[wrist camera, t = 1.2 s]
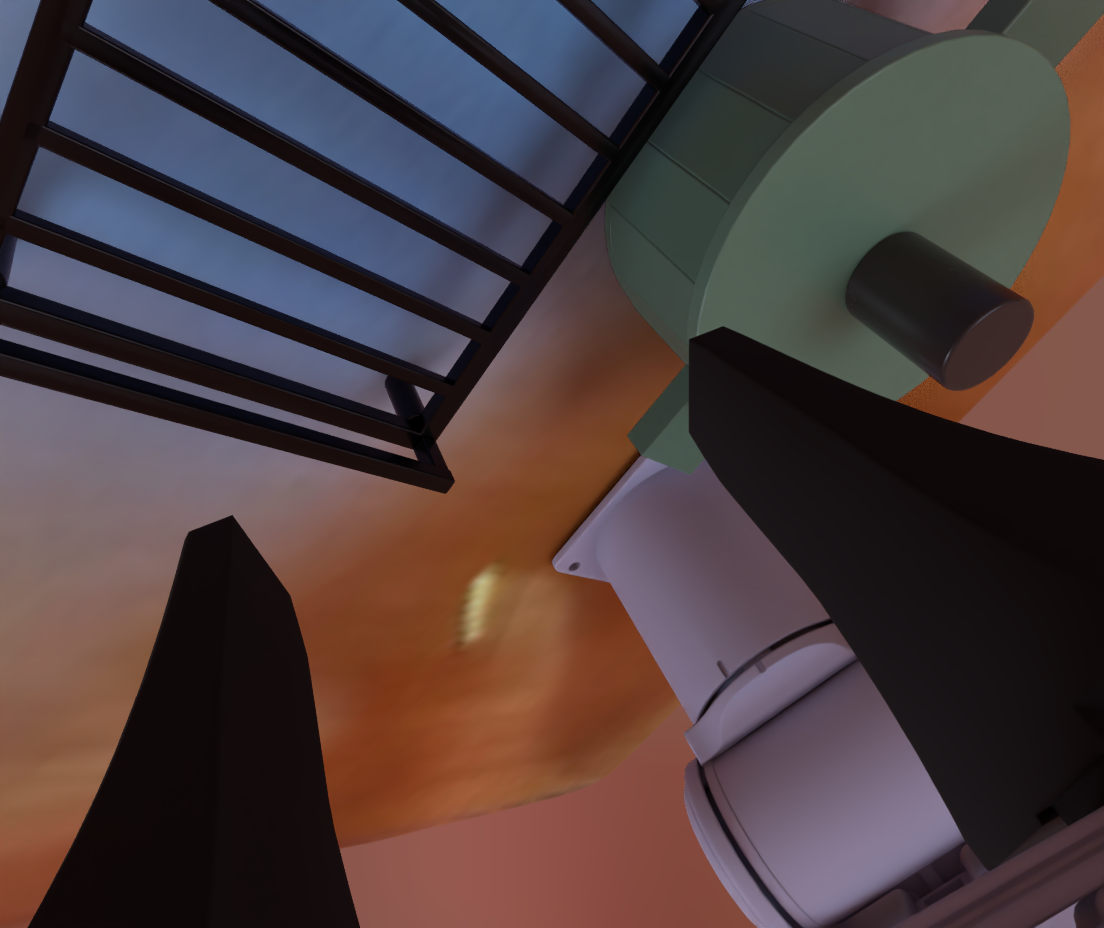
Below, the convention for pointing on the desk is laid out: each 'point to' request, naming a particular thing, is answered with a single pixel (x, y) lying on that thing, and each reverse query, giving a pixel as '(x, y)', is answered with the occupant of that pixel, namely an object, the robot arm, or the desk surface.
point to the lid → (897, 217)
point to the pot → (755, 153)
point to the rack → (14, 140)
